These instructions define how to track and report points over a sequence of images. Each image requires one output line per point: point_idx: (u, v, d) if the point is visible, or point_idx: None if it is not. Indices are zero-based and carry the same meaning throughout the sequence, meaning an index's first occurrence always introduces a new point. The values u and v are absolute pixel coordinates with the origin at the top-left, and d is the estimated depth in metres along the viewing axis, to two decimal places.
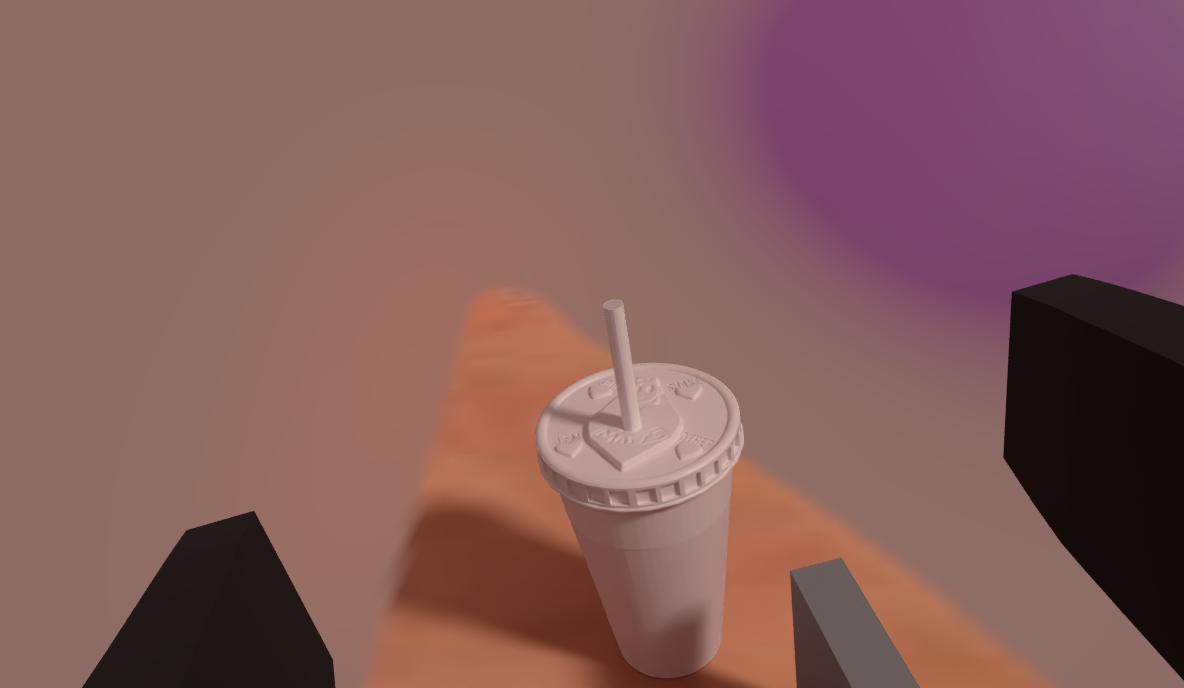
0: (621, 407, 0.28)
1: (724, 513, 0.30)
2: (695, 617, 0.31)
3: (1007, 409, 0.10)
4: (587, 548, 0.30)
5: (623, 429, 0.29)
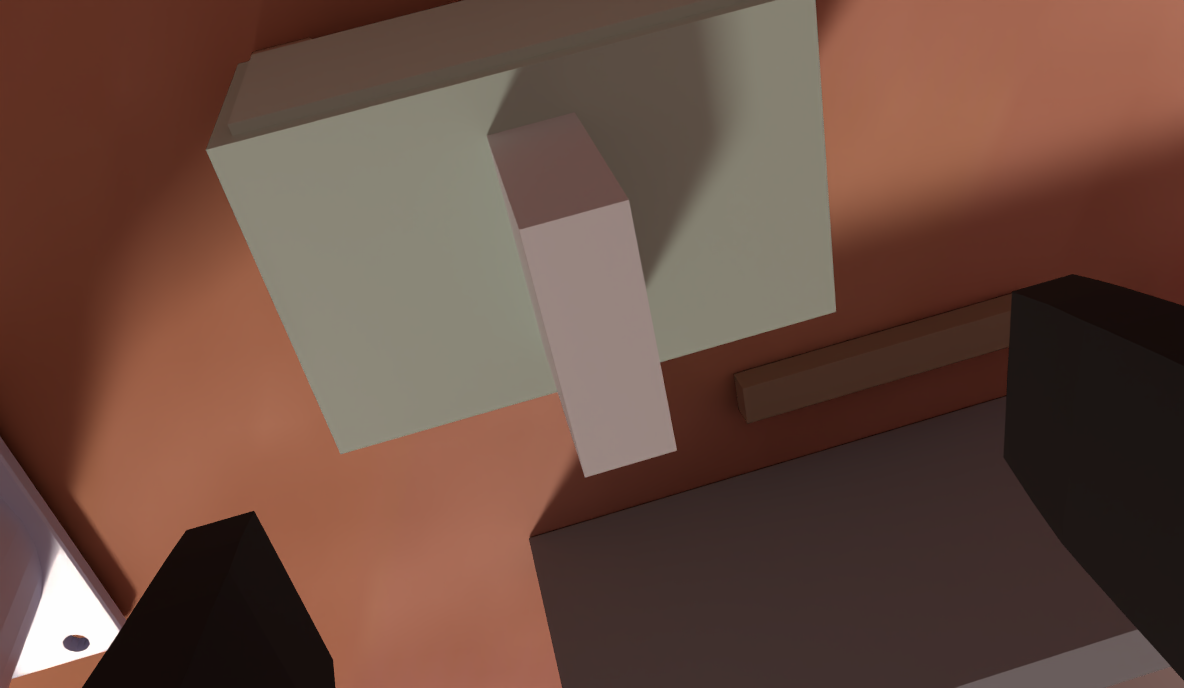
0: None
1: None
2: None
3: (1007, 409, 0.10)
4: None
5: None
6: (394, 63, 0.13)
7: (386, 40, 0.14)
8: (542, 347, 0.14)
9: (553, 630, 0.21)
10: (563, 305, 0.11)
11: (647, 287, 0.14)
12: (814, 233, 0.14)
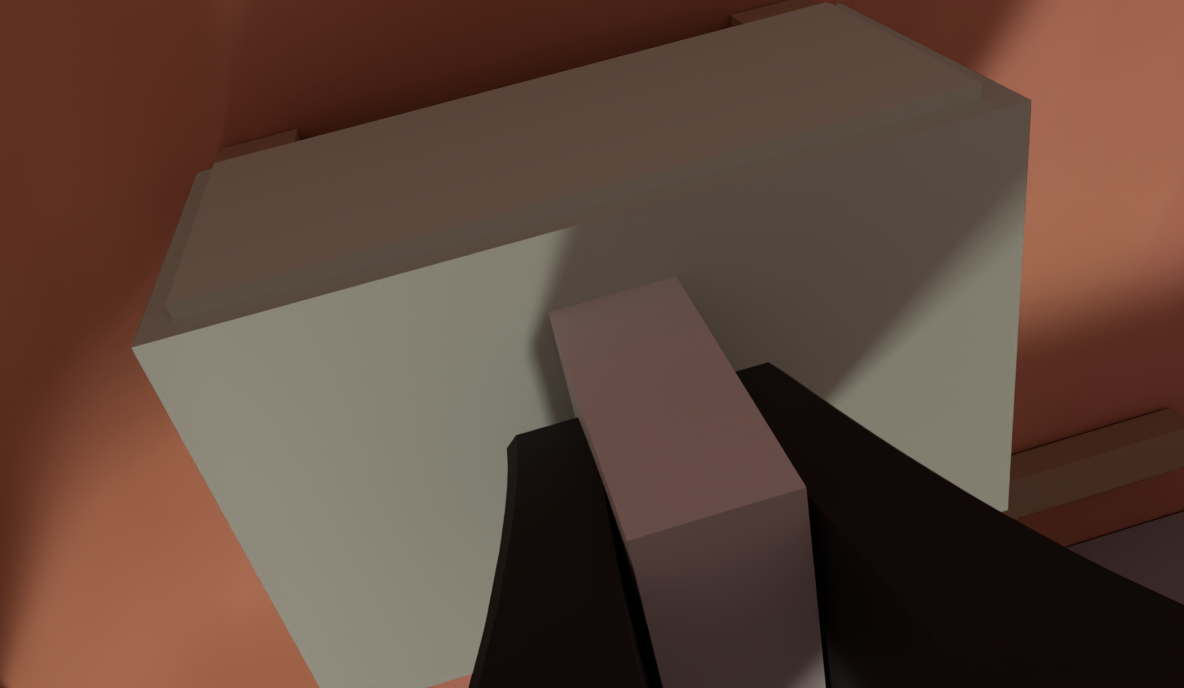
0: None
1: None
2: None
3: None
4: None
5: None
6: (413, 200, 0.09)
7: (399, 153, 0.10)
8: None
9: None
10: (687, 634, 0.07)
11: None
12: (991, 417, 0.10)
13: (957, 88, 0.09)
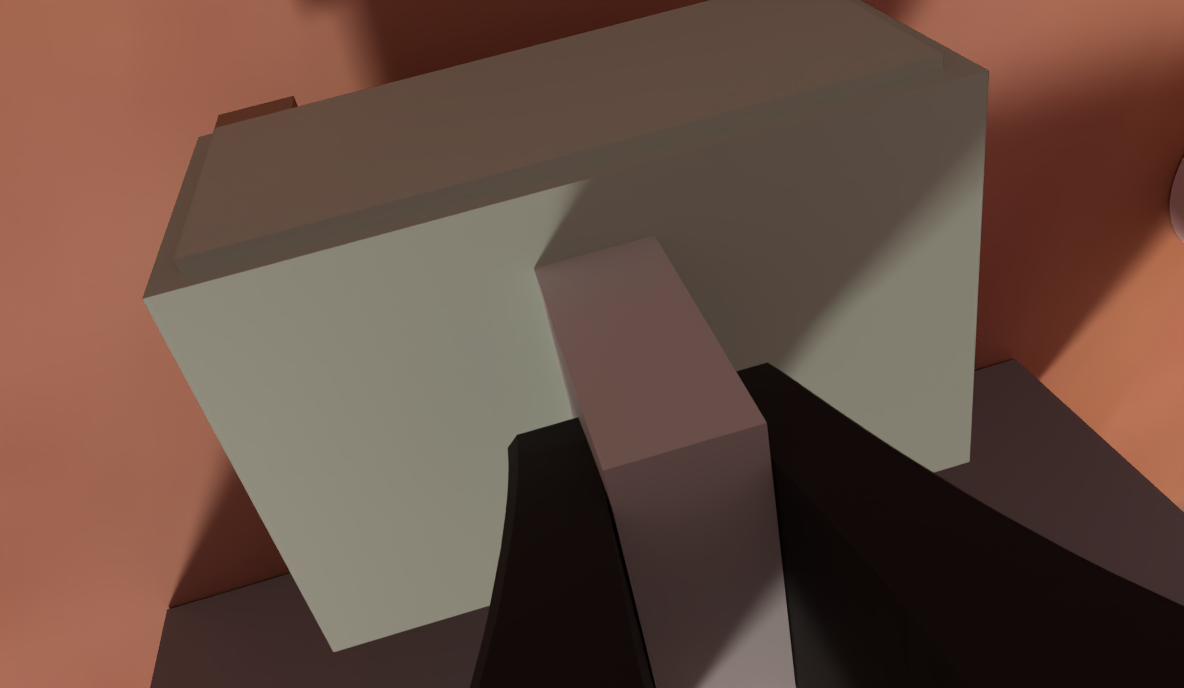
0: None
1: None
2: None
3: None
4: None
5: None
6: (406, 162, 0.10)
7: (393, 118, 0.11)
8: None
9: None
10: (658, 559, 0.07)
11: None
12: (953, 372, 0.11)
13: (920, 59, 0.09)
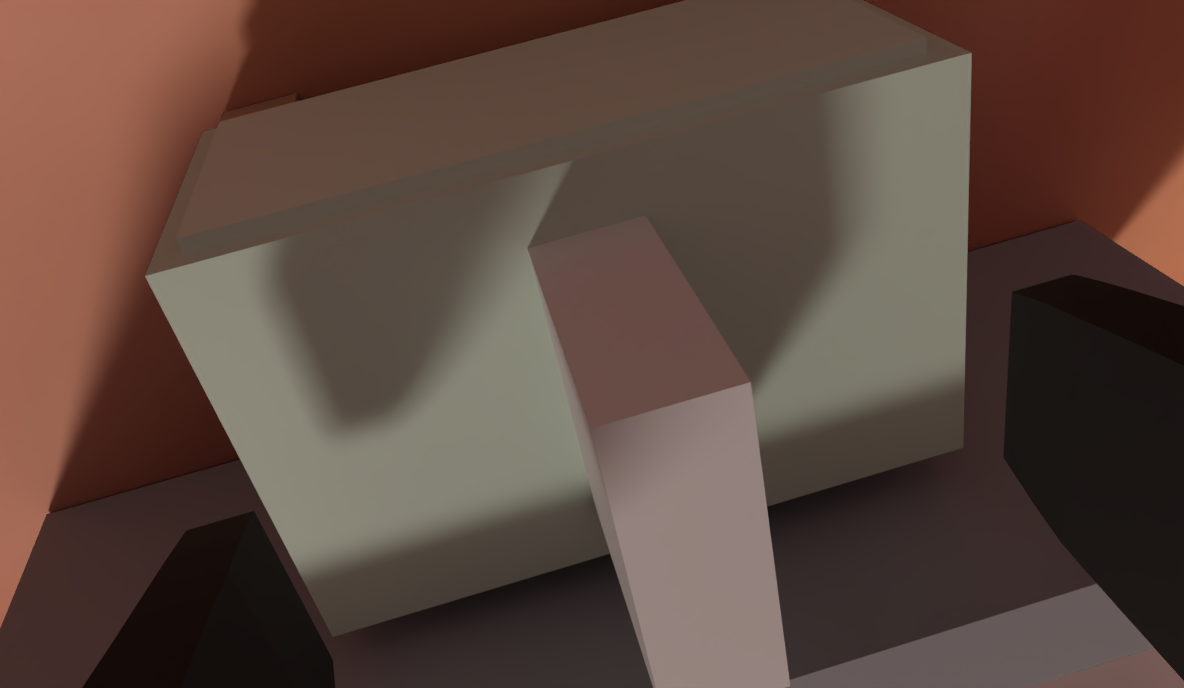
0: None
1: None
2: None
3: (1008, 409, 0.10)
4: None
5: None
6: (404, 147, 0.10)
7: (392, 108, 0.11)
8: (592, 502, 0.11)
9: None
10: (647, 521, 0.07)
11: None
12: (944, 356, 0.11)
13: (904, 42, 0.09)
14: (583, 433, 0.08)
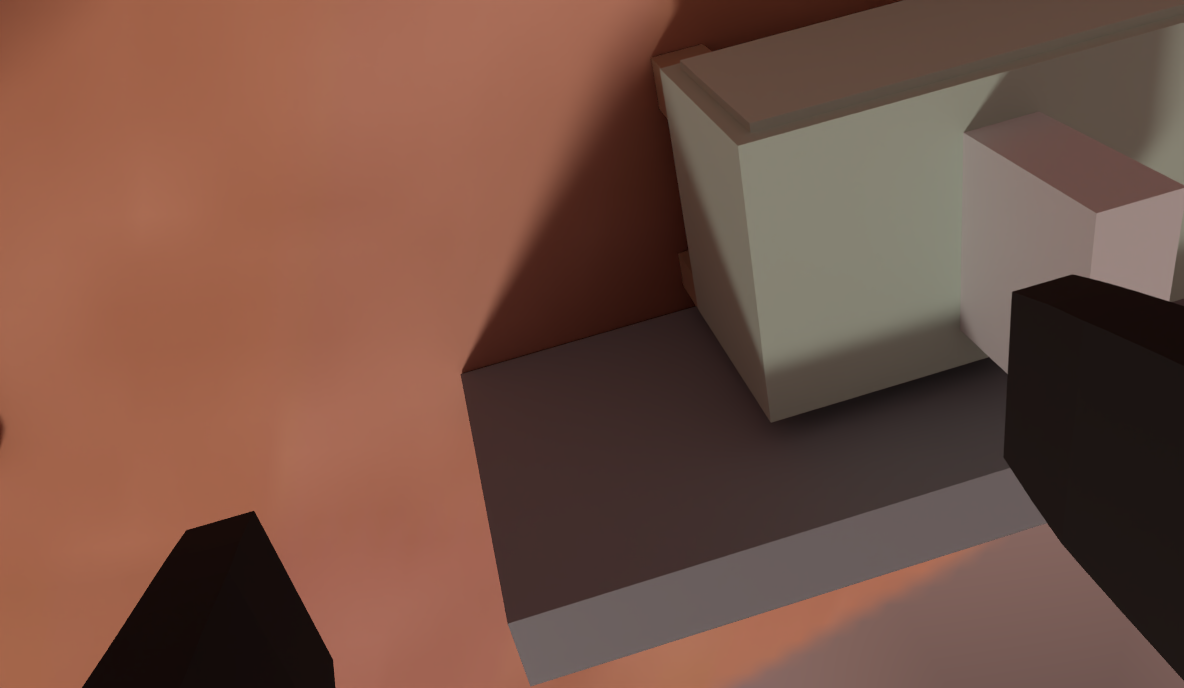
0: None
1: None
2: None
3: (1007, 409, 0.10)
4: None
5: None
6: (869, 68, 0.15)
7: (826, 47, 0.16)
8: (958, 324, 0.16)
9: (481, 457, 0.18)
10: (1108, 279, 0.12)
11: None
12: None
13: None
14: (1032, 241, 0.13)
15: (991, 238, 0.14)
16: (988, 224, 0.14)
